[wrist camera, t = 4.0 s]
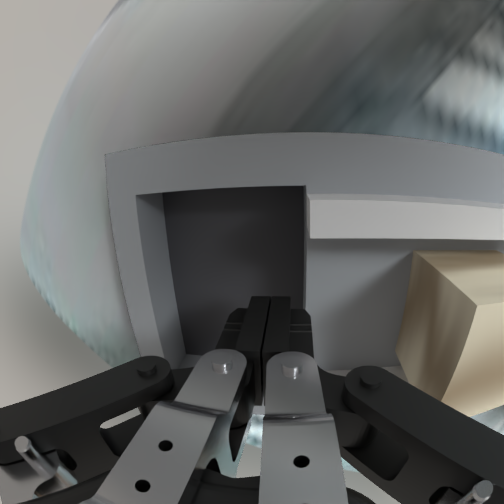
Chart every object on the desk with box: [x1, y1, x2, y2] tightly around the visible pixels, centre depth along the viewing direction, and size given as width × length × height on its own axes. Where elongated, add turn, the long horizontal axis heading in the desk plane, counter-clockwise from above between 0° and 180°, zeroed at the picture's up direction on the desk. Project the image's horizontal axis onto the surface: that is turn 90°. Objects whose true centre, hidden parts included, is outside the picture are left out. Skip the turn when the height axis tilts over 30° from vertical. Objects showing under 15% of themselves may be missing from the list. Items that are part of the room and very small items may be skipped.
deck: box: [105, 132, 504, 415], centre depth 11 cm, size 14×29×5 cm, turn 93°
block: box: [395, 250, 504, 417], centre depth 8 cm, size 5×5×5 cm
